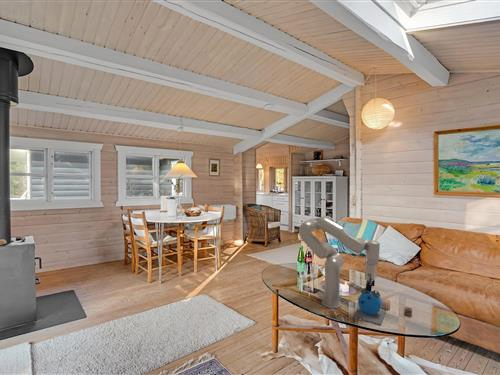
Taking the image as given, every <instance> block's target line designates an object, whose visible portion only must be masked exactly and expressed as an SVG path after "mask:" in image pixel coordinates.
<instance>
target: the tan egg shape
mask: <svg viewBox="0 0 500 375" xmlns="http://www.w3.org/2000/svg"><path fill="white" fill-rule="evenodd" d="M381 300H382V306H381V310H385V311H390V310H391V300H390V299H386V298H381Z"/></svg>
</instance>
